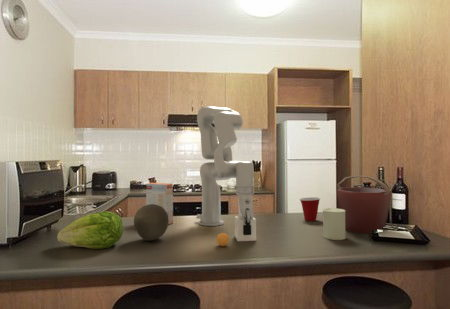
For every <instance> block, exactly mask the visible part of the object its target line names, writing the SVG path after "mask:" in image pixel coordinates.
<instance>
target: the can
mask: <svg viewBox="0 0 450 309" xmlns="http://www.w3.org/2000/svg"><path fill="white" fill-rule="evenodd" d="M322 218H323V219H322V220H323V224H322V226H323V228H322V230H323V232H322V237H323V238H325V239H327V240H335V241H343V240H345V239H346V238H347V236H346V230H345V210H343V209H340V208H335V207H330V208H329V207H327V208H323V209H322Z"/></svg>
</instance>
